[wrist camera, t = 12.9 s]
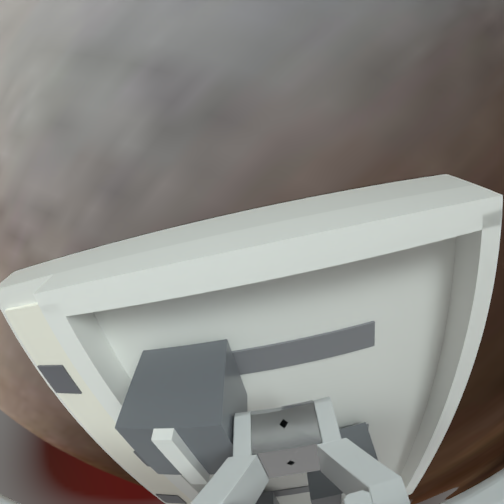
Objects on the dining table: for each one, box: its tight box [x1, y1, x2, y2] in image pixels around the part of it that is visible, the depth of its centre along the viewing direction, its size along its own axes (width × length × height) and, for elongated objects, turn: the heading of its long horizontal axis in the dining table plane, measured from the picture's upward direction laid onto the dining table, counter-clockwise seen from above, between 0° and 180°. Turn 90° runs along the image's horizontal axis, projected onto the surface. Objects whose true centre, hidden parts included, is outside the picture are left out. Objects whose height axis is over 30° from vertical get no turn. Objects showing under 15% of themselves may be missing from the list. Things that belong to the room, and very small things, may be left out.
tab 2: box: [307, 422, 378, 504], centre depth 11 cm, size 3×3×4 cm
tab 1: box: [115, 339, 247, 484], centre depth 9 cm, size 3×3×4 cm
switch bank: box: [0, 174, 503, 504], centre depth 14 cm, size 24×20×4 cm
